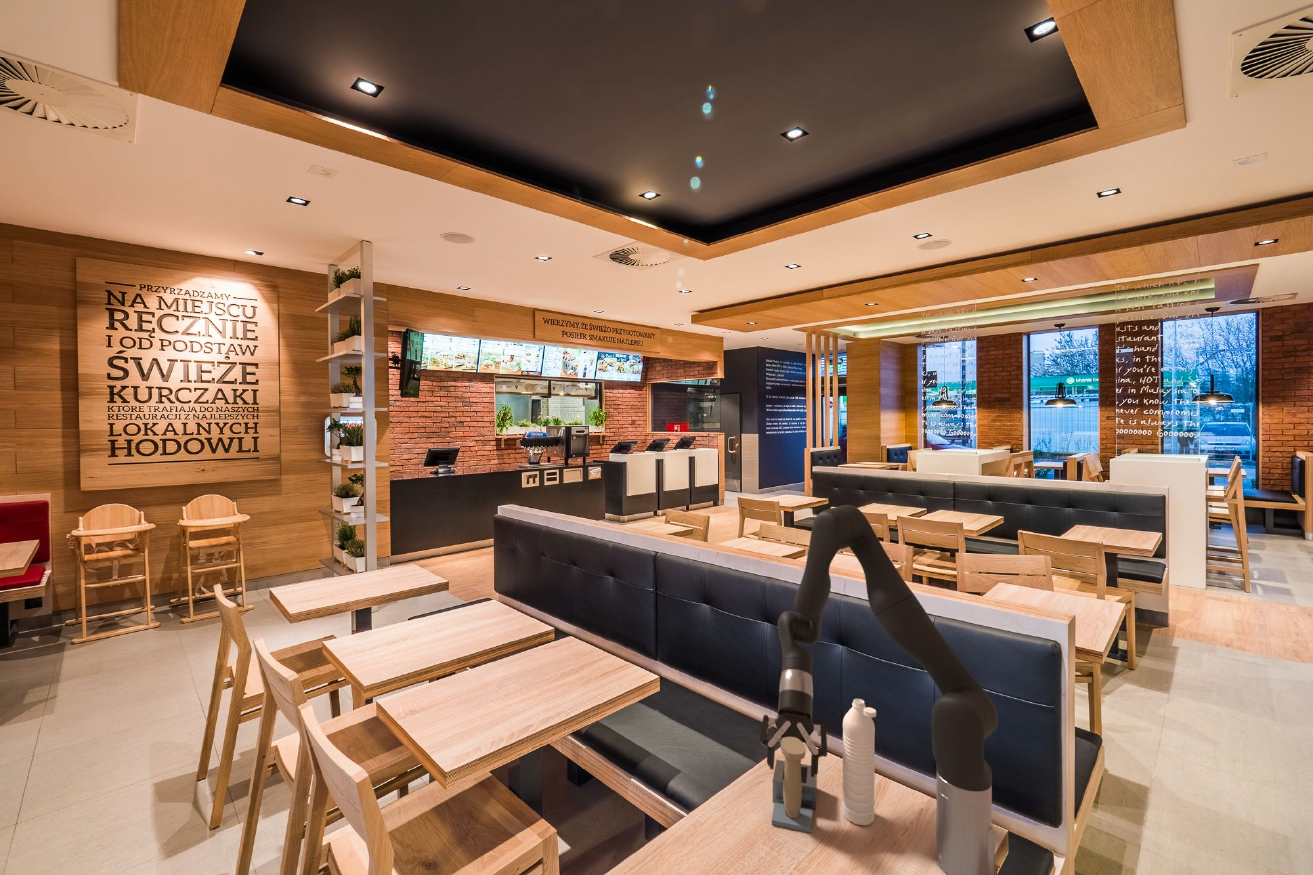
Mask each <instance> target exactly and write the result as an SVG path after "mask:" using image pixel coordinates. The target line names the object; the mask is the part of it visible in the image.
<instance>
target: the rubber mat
mask: <svg viewBox="0 0 1313 875" xmlns="http://www.w3.org/2000/svg"><path fill="white" fill-rule="evenodd" d="M784 807H785V806H784V804H781V803H776V802H775V803H774V804H773V811H772V815H771V816H772V817H771V825H772V826H776V827H780V828H785V829H791V830H796V831H800V832H805V833H810V834H811V833H812V826H813V825H812V823H813V822H812V821H813V810H812V809H807V808H802V807H800V814H799V815H798V818H790V817H789V816H788V815H786V814H785V811H784Z"/></svg>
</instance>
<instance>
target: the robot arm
mask: <svg viewBox="0 0 1313 875" xmlns="http://www.w3.org/2000/svg"><path fill="white" fill-rule="evenodd" d="M811 527H812V528H811V532H810V533H811V534H810V539H809V546H808V551H807V556H806V563H805V566H804V567H805V568H804V572H803V575H802V578H801V581H800V584H799V587H798V589H797V591H796V594H795V597H794V599H793V600H794V601H793V607H794V609H795V611H790V610H786V611H785V610H784V612H782V613H780V616H779V617H778V620H777V631H778V636H779V638H778V639H779V641H780V646H781V652H782V664H781V667H782V668H781V676H780V681H779V693H778V707H777V714H776V717H774V718H773V717H770V716H769V715H768V714H764V715H763V716H762V724H761V731H760V738H759V741H760V745H761V746H762V747H765V748H766V749H767V755H766V764H767V766H768V767H769V770H772V771H773V770H775V756H776V755H775V753H776V752H775V749H776V748H777V747H778V746H779V745H781V740H782V738H784V737H795V738H798V739H799V740H801V741H802V742H803V743H804V745H805V747H806V748H807V749H808V751H810V754H811V756H810V758H811V760H810V766H811V777H814V776H815V774H816V775H817V776H818V774H819V759H820V758H822V757H824V758H825V757H827V756H828V742H827V741H828V736H827V725H826V724H825V723H821V724H814V722H813V701H814V699H813V698H814V692H813V691H814V684H813V662H814V661H813V655H812V654H811V652H810V651H808V650H807V649H806V648H803V647H801V646H800V645H798V643H799V644H802V645H805V646H815V644H817V643H818V642H819V641H820V638H821V636H822V635H821V633H822V617H823V611H824V608H825V606H826V604H827V602H828V598H829V597H830V593H831V588H832V580H831V575H830V567H831V564H832V562H833V560H834V558H835V556H836V555H837V553H838V552H839V551H840V550H844V549H847V548H850V550H851V551H852V553H853V554H854V556H855V557H856V559H857V560H858V562H859V564H860V566H861V568H862V571H863V574H864V579H865V584H866V594H867V600H868V604H869V607H870V610H871V611H872V614H873V615H874V617H875V618H876V619H877V621H878V623H879V625H880V626H881V628H882V630H883V631H884V633H885V634H886V635H887V636H888V639H890V640H891V641H892V642H893V643H894V644H895V645H896V647H898V648H900V649H901V650H902V651H903V652H905V654H906V655H908V656H909V657H911V659H913V660H914V661H915V662H917V663H918V664H919V665H920V666H921V667H922V668H923V669H924V670H925V671H926V673H927V674H928V676H930V678H931V679H932V681H933V683H934V684H935V686H936V687H937V689H938V690H939V692H940V694H941V697H939V698H938V699H937V700H936V701H935V702H934V705H933V707H932V711H931V746H932V756H933V758H934V761H935V763H936V816H935V817H936V821H935V822H936V824H935V826H936V828H935V829H936V831H935V832H936V834H935V835H936V840H935V841H936V842H935V843H936V844H935V851H936V852H935V854H936V857H935V858H936V861H937V865H938V866H939V867H940V869H941V870H942V871H943V872H945V873H946V874H947V875H995V872H996V871H995V870H996V868H995V864H996V863H995V862H996V856H995V855H996V849H995V848H996V845H995V844H996V842H995V839H996V833H995V830H994V826H993V824H992V817H993V816H992V810H993V809H992V807H993V806H992V805H993V804H992V803H993V801H992V800H993V799H992V798H993V797H992V796H993V791H992V788H993V787H992V786H993V785H992V784H993V777H992V776H993V772H992V768H991V766H990V765H989V763H988V762H987V761H985V740H987V738H989V736H991V734H993V733H994V732H995V730H997V727H998V725H999V714H998V711H997V708H996V706H995V703H994V702H993V700H992V699H991V698H990V696H989V694H987V692H986V691H985V690H984V688H983V687H982V686H981V684H979V682H978V681H977V680H976V679H975V677H974V676H973V675H972V674H971V672H969V670H968V669H967V668H966V667H965V666H964V664H963V663H962V662H961V660H960V659H959V658H958V657H957V655H956V654H955V652H954V651H953V649H952V648H951V647H950V645H949V644H948V642H947V640H946V639H945V638H944V637H943V634H941V632H940V631H939V629H938V628H937V627H936V625H935V624H934V622H933V621H932V620H931V618H930V617H929V615H928V613H927V611H926V609H924V607H923V606H922V604H921V602H920V601H919V599H918V598H917V597H916V595H915V593H914V592H913V591H912V590H911V589H910V587H909V586H908V584H907V583H906V581H905V580H904V578H903V577H902V575H901V574H900V571H898V569H897V568H896V566H895V564H894V563H893V562H892V560H891V558H890V557H889V555H888V553H887V552H886V551H885V549H884V547H883V545H882V544H881V542H880V541H881V540H879V538H878V536H877V534H876V532H875V531H874V528H873V527H872V525H871V523H870V522H869V520H868V518H867V517H866V516H865V514H864V513H863V512H862V510H860V509H859V508H858V507H856V506H854V505H850V504H845V505H844V504H843V505H839V506H837V507H836V506H835V507H832V508H829V509H824V510H821V511H820V512H819V513H818V514H817V515H816V516H815V518H814V521H813V524H812V526H811ZM773 725H775V727H776V729H777V731H776V733H774V735H773V737H772V738H771V739H770V740H769V739H768V736H769V735H768V734H769V729H772V727H773ZM813 732H816V734H817V737H820V748H817V747H816V745H815V744H814V742H813V740H812V738H811V735H812V733H813Z"/></svg>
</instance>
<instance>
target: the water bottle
mask: <svg viewBox="0 0 1313 875" xmlns="http://www.w3.org/2000/svg"><path fill="white" fill-rule="evenodd" d="M851 705H852V707H851V708H849V710H848V711H847V712H846V714H845V715H844V717H843V720H842V809H841V810H842V814H843V816H844V818H845V820H847V821H848V822H850V823H852V824H854V825H858V826H869V825H870V824H872V823H873V822H874V821H875V785H876V784H875V776H876V774H875V765H876V764H875V742H876V741H875V735H876V734H875V733H876V728H875V726H876V725H875V723H874V720H873V719H872V718H876V717H877V710H876V709H875V708H873V707H869V706H867V707H866V704H865V700H864V699H861V698H854V699H853V701H852V703H851Z"/></svg>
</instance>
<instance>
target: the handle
mask: <svg viewBox="0 0 1313 875" xmlns="http://www.w3.org/2000/svg"><path fill="white" fill-rule="evenodd" d="M806 748H807V747H806V745H805V743H803V742H802V741H801V740H799V739H798V738H795V737H784V738H782V740H781V743H780V751H781V754H782V755H783V756H784V761H785V768H784V781H783V798H784V806H785V807H784V811H785V814H786V815H788V816H789V817H790V818H798V815H799V814H800V807H801V799H802V779H801V764H802V760H803V759H805V756H806Z"/></svg>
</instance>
